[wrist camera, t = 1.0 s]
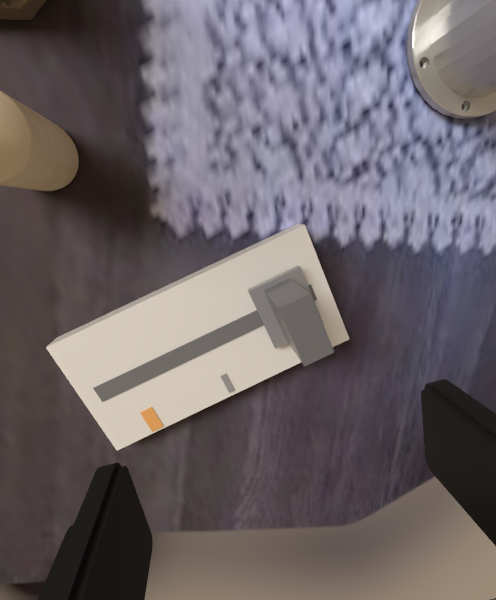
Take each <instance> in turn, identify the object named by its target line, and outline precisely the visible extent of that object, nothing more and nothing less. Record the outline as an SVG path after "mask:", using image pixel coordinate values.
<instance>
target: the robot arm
mask: <svg viewBox="0 0 496 600" xmlns="http://www.w3.org/2000/svg"><path fill="white" fill-rule="evenodd" d="M407 58H408V64H409V68H410V73H411V76H412V78H413V81H414V83H415V86H416V88H417V89H418V91H419V92H420V94H421V96H422V97H423V99H424V100H425V101H426V102H427V103H428V104H429V105H430V106H431V107H432V108H434V109H435V110H437V111H439V112H440V113H442V114H444V115H447V116H450V117H452V118H459V119H470V118H478V117H481V116H484V115H487V114H490V113H492V112H494V111H496V0H417V3H416V5H415V7H414V10H413V12H412V16H411V20H410V23H409V27H408V36H407ZM421 400H422V414H423V428H424V443H425V457H426V462H427V465H428V467H429V469H430V470H431V472H432V473H433V474H434V475H435V476H436V478H437V479H438V480H439V481H440V482H441V483H442V484H443V486H444V487H445V488H446V489H447V490H448V491H449V493H450V494H451V495H452V496H453V497H454V498H455V499H456V501H457V502H458V503H459V504H460V505H461V506H462V507H463V509H464V510H465V511H466V512H467V513H468V514H469V516H470V517H471V518H472V519H473V520H474V521H475V523H477V525H478V526H479V527H480V528H481V529H482V531H483V532H484V533H485V534H486V535H487V536H488V538H489V539H490V540H491V541H492V542H493V543H494V544H495V546H496V414H495V413H493V412H492V411H491V410H489V409H488V408H486V407H485V406H483V405H482V404H481V403H479V402H478V401H476V400H475V399H473V398H472V397H471V396H469V395H468V394H466V393H465V392H463V391H462V390H461V389H459V388H458V387H456V386H455V385H453V384H452V383H451V382H449V381H447V380H444V379H443V380H439V381H435V382H431V383H428V384H426V386H425V389H424V390H422V392H421ZM151 553H152V535H151V531H150V528H149V526H148V523H147V520H146V517H145V515H144V512H143V509H142V506H141V504H140V501H139V498H138V495H137V493H136V490H135V487H134V485H133V482H132V479H131V476H130V474H129V471H128V468H127V467H126V466H123V467H121V465H120V464H119V463H114V464H110V465H106V466H102V467H99V468H97V470H96V472H95V475H94V477H93V479H92V482H91V484H90V487H89V489H88V491H87V494H86V496H85V499H84V501H83V504H82V506H81V508H80V511H79V513H78V516H77V518H76V520H75V523H74V524H73V525H72V526H70V527H69V529H68V531H67V532H66V534H65V537H64V539H63V541H62V544H61V546H60V549H59V551H58V553H57V556H56V558H55V560H54V563H53V565H52V567H51V570H50V572H49V574H48V577H47V579H46V581H45V584H44V586H43V588H42V591H41V593H40V595H39V598H38V600H144V599H145V592H146V585H147V579H148V573H149V566H150V559H151ZM491 600H496V598H494V599H491Z"/></svg>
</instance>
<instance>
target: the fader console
mask: <svg viewBox="0 0 496 600" xmlns="http://www.w3.org/2000/svg"><path fill="white" fill-rule="evenodd" d="M296 266H299V267H301V270H302V272H303V275H304V277H305V279H306V282H307V284H308V287H309V289H310V292H311V294H312V297H313V299H314V301H315V304H316V306H317V309H318V311H319V314H320V316H321V319H322V321H323V323H324V328H325V330H326V333H327V335H328V338H329V340H330V342H331V345H332V347H334V346H336V345H338V344H341V343H343V342H345V341H347V340H349V336H348V334H347V331H346V329H345V326H344V324H343V321H342V318H341V316H340V313H339V311H338V308H337V306H336V303H335V301H334V298H333V295H332V293H331V290H330V288H329V285H328V283H327V280H326V278H325V275H324V272H323V270H322V267H321V265H320V262H319V260H318V257H317V254H316V252H315V249H314V247H313V244H312V242H311V239H310V237H309V234H308V231H307V229H306V226H305V225H303V224H296V225H294V226H292V227H290V228H287V229H285V230H283V231H281V232H279V233H277V234H275V235H273V236H271V237H268V238H266V239H264V240H262V241H260V242H258V243H256V244H254V245H252V246H249V247H247V248H245V249H243V250H241V251H239V252H237V253H235V254H233V255H230V256H228V257H226V258H224V259H222V260H220V261H218V262H216V263H214V264H211V265H209V266H207V267H205V268H203V269H201V270H199V271H197V272H195V273H192V274H190V275H188V276H186V277H184V278H182V279H180V280H178V281H176V282H173V283H171V284H169V285H167V286H165V287H163V288H161V289H159V290H156V291H154V292H152V293H150V294H148V295H146V296H144V297H142V298H140V299H137V300H135V301H133V302H131V303H129V304H127V305H125V306H123V307H121V308H118V309H116V310H114V311H112V312H110V313H108V314H106V315H104V316H102V317H99V318H97V319H95V320H93V321H91V322H89V323H87V324H85V325H83V326H80V327H78V328H76V329H74V330H72V331H70V332H68V333H66V334H64V335H61V336H59V337H57V338H56V339H55V340H54V341H53V342H52V343H50V344H49V345H48V346H47V347H46V348H47V350H48V351H49V353H50V354H51V356H52V357H53V359H54V360H55V362H56V363H57V364H58V366H59V367H60V369H61V370H62V372H63V373H64V375H65V376H66V378H67V379H68V380H69V382H70V383H71V385H72V386H73V388H74V389H75V391H76V392H77V393H78V395H79V396H80V398H81V399H82V401H83V402H84V404H85V405H86V407H87V408H88V409H89V411H90V412H91V414H92V415H93V417H94V418H95V420H96V421H97V423H98V424H99V425H100V427H101V428H102V430H103V431H104V433H105V434H106V436H107V437H108V438H109V440H110V441H111V443H112V444H113V446H114V447H115V449H116V450H119V449H121V448H124V447H126V446H128V445H130V444H132V443H134V442H136V441H138V440H140V439H142V438H144V437H147V436H149V435H151V434H153V433H155V432H157V431H159V430H161V429H163V428H165V427H167V426H169V425H172V424H174V423H176V422H178V421H180V420H182V419H184V418H186V417H188V416H190V415H192V414H195V413H197V412H199V411H201V410H203V409H205V408H207V407H209V406H211V405H213V404H215V403H217V402H220V401H222V400H224V399H226V398H228V397H230V396H232V395H234V394H236V393H238V392H240V391H242V390H245V389H247V388H249V387H251V386H253V385H255V384H257V383H259V382H261V381H263V380H265V379H268V378H270V377H272V376H274V375H276V374H278V373H280V372H282V371H284V370H286V369H288V368H290V367H293V366H295V365H297V364H299V363H301V361H300V359H299V358H298V356H297V355H296V353H295V352H294V350H293V349H292V347H291V346H290V344H289V343H287V344H284V345H282V346H280V347H278V348H276V349H275V347H274V346H273V343H272V341H271V339H270V337H269V335H268V333H267V331H266V328H265V326H264V324H263V322H262V320H261V318H260V316H259V313H258V311H257V309H256V307H255V305H254V303H253V301H252V298H251V296H250V294H249V292H248V289H250V288H252V287H254V286H256V285H258V284H260V283H262V282H265V281H267V280H269V279H271V278H273V277H275V276H277V275H279V274H281V273H283V272H286V271H288V270H290V269H292V268H294V267H296Z"/></svg>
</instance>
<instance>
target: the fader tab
mask: <svg viewBox="0 0 496 600" xmlns="http://www.w3.org/2000/svg"><path fill="white" fill-rule="evenodd" d="M248 292H249V294H250V296H251V298H252V301H253V303H254V305H255V307H256V309H257V311H258V313H259V316H260V318H261V320H262V322H263V324H264V326H265V328H266V331H267V333H268V335H269V337H270V339H271V341H272V343H273V346H274V347H275V349H276V348H278V347H280V346H282V345H284V344H287V343H289V344H290V346H291V347H292V349H293V350H294V352H295V353H296V355H297V356H298V358H299V359H300V361H301V362H302V364H303V365H304V367H305V366H307V365H309V364H311V363H313V362H315V361H318V360H320V359H322V358H324V357H326V356H328V355H330V354H332V353H334V350H333V347H332V345H331V342H330V340H329V338H328V335H327V333H326V330H325V328H324V323H323V321H322V319H321V316H320V314H319V311H318V309H317V306H316V304H315V301H314V299H313V297H312V294H311V292H310V289H309V287H308V284H307V282H306V279H305V277H304V275H303V272H302V270H301V267H299V266H296V267H294V268H292V269H290V270H288V271H286V272H283V273H281V274H279V275H277V276H275V277H273V278H271V279H269V280H267V281H265V282H262V283H260V284H258V285H256V286H254V287H252V288H250V289H248Z"/></svg>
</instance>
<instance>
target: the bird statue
mask: <svg viewBox="0 0 496 600" xmlns="http://www.w3.org/2000/svg"><path fill="white" fill-rule="evenodd" d="M45 2H46V0H0V20H32V18H33V17H34V16H35V15H36V13H37V12H38V11H39V9H40V8H41V7H42V5H43V4H44V3H45Z"/></svg>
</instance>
